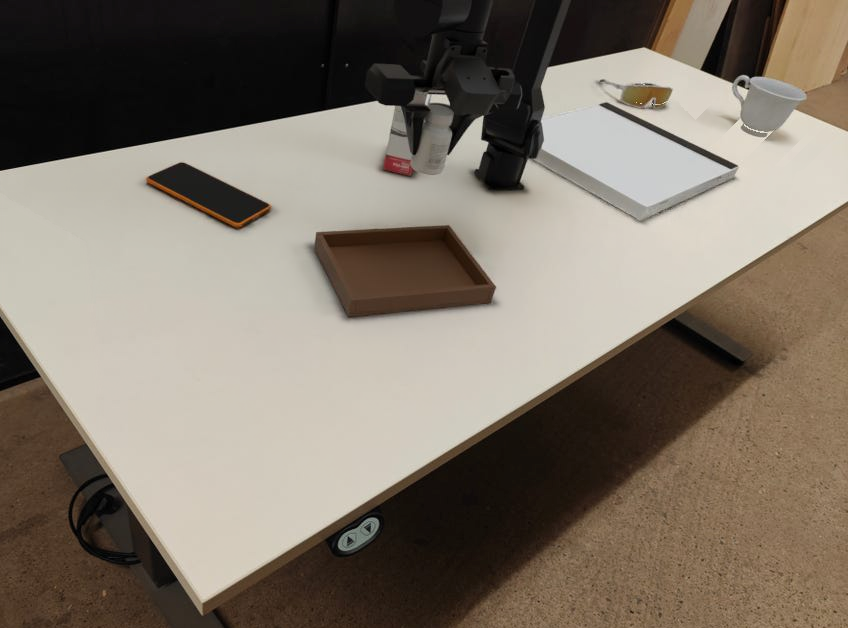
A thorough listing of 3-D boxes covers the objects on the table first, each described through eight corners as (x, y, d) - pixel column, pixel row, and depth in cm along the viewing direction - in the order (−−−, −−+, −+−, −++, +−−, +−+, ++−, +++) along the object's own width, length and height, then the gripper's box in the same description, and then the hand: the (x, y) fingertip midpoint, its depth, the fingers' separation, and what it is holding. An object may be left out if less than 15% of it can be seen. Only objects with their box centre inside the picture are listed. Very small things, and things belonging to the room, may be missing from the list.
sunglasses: (623, 107, 148) (631, 84, 145) (588, 90, 160) (595, 68, 157) (676, 111, 152) (685, 88, 149) (639, 94, 163) (646, 72, 161)
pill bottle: (448, 169, 88) (463, 111, 83) (432, 179, 85) (447, 120, 80) (419, 157, 89) (433, 99, 84) (403, 166, 86) (416, 107, 81)
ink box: (411, 177, 107) (427, 105, 100) (381, 170, 108) (395, 97, 100) (418, 155, 114) (434, 86, 106) (391, 148, 114) (404, 78, 106)
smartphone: (237, 230, 88) (238, 224, 88) (144, 182, 93) (143, 177, 92) (273, 209, 93) (273, 203, 93) (182, 165, 98) (182, 160, 98)
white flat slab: (605, 101, 142) (740, 165, 127) (601, 112, 144) (733, 177, 129) (502, 127, 122) (646, 207, 107) (498, 139, 124) (640, 220, 109)
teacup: (725, 111, 158) (748, 68, 151) (787, 137, 151) (814, 93, 145) (706, 121, 151) (729, 76, 144) (770, 148, 144) (797, 102, 138)
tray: (444, 240, 95) (449, 224, 93) (491, 302, 85) (496, 287, 84) (313, 248, 88) (316, 231, 86) (348, 317, 79) (351, 300, 77)
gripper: (413, 44, 67) (384, 186, 77) (566, 55, 74) (521, 183, 84) (375, 9, 74) (353, 142, 85) (517, 21, 81) (481, 143, 91)
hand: (429, 153), depth 86 cm, fingers closed on pill bottle, 4 cm apart
